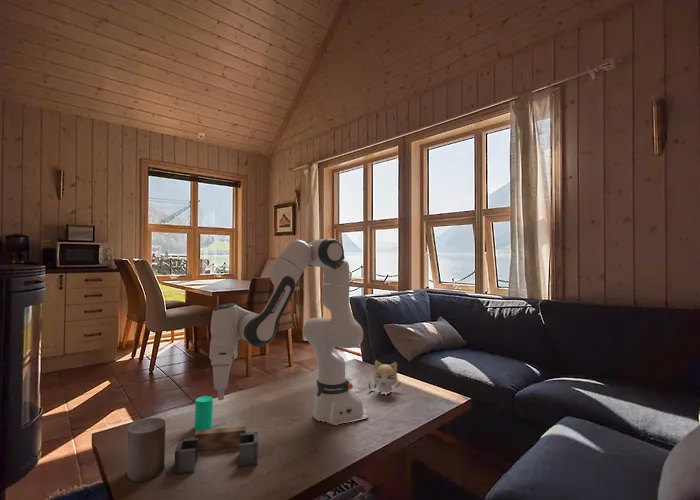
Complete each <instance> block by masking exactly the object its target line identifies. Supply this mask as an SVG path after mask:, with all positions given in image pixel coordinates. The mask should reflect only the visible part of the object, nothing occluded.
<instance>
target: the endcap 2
mask: <svg viewBox="0 0 700 500" xmlns="http://www.w3.org/2000/svg"><path fill="white" fill-rule="evenodd" d="M258 453H259V434H258V431H255V432H254V431H253V432H246V433H243V434H240V447H239V457H238V458H239V459H238V467H239V468H245V467H251V466H258V461H259V460H258V458H259V456H258V455H259V454H258Z"/></svg>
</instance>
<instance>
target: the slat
mask: <svg viewBox="0 0 700 500" xmlns="http://www.w3.org/2000/svg"><path fill="white" fill-rule="evenodd" d="M243 433H247V426H246V425H244V426H243V425H241V426H233V427H231V426H229V427H219V428H211V429H207V430H195V432H194V438H198V452H199V451H209V450H220V449H229V448H240V434H243Z"/></svg>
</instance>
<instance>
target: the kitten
mask: <svg viewBox="0 0 700 500" xmlns="http://www.w3.org/2000/svg"><path fill="white" fill-rule="evenodd" d="M397 373H398V362H396V361H395V362H392V363H391V364H385V363H381V362H380V361H378V360H377V359H376V360H375V361H374V374H373V380H374V383H375V384H374V386H373V387H374V388H377V387H378V388H377V391H378V390H379V391H380V392H389V391H391V390H392V388H396V389H397V388H399V387H400V386H401V385H402V384H401V381H399V380H398V375H397ZM377 385H378V386H377ZM368 388H369V390H370V389H372V386H371V382H369V383H368ZM379 391H378V392H379ZM392 391H393V390H392Z"/></svg>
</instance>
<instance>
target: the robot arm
mask: <svg viewBox="0 0 700 500" xmlns="http://www.w3.org/2000/svg"><path fill="white" fill-rule="evenodd" d="M308 266H309V267H318V268H319V267H320V268H321V269H322V271H323V279H322V289H321V290H322V293H321V304H322V305H323V306H324V307H325V308H326V309H327V310H328V311H329V312H330V314H331V317H330V318H329V317H322V316H321V317H319V316H317V317H313V318H312V317H311V318H309V319H307V321H306V322H305V324H304V326H303V335H304V339H305V340H306V341H308V343H309V344H310V345H311V347H312V349H313V350H314V354H315V356H316V360H317V379H316V386H315V387H316V388H315V393H316V398H315V406H314V408H313V409H314V410H313V413H312V417H313V419H315V420H316V421H318V422H320V421H322V422H321V423H324V422H327V423H326V424H329V423H330V424H329V425H331V424H334V425H336V424H341V423H345V422H349V421H353V420H356V419H361V418H366V417H367V416H366V415H364V413H367V412H366V411H368V410H367V408H366V407H365V408H363V407H364V405H363V401H362V399H361V397H360V396H359V395H358V394H357V393H356V392H355V391H353V387H354V385H353V383H351V382H350V381H349V380H348V379H347V378H346V361H345V359H344V358H343V356H341V354H339V353H338V352H337V350H336V348H340V349H354V348H355V349H356V348H358V347H359V346H360V345H361V344H362V342H363V339H364V330H363V327H362V326H361V324H360V323H359V322H358V321H357V320H356V318H355V317H354V316H353V312H352V310H351V307H350V285H351V275H350V274H351V273H350V272H351V271H350V265H349V262H348V261H347V260H346V259H345V250H344V246H343V245H342V243H341V242H340V241H339V240H337V239H335V238H332V237H331V238H319V239H315V240H310V241H307V242H306V241H304V240H301V239H294V240H292V241H290V243H288V244H287V246H285V248H283V250H282V251H281V253H279V255H278V256H277V258H276V259H275V260H274V262H273V264H272V265H271V268H270V270H269V278H270V281H271V283H272V285H273V291H272V294H271V295H270V298H269V300H268V301H267V303H266V305H265V307H264V309H263V310H262V311H261V312H260V313H256V312H254V311H250V310H246V309H244V308H242V307H240V306H239V305H237V304H236V303H233V302H231V303H223V304H219V305H217V306H216V307H214V308H213V311H212V314H211V320H210V329H209V331H210V334H211V336H210V337H211V338H210V341H209V357H208V358H209V359H210V365H211V366H212V377H213V379H212V380H213V388H214V390H215V391H217V401H223V400H224V398H225V390H227V388H228V384H229V378H230V377H229V376H230V370H231V366H232V364H233V363H234V361H235V359H237V357H238V346H239V345H238V344H239V343H238V341H239V340H244V341H246V342H247V343H249V344H250V345H251V346H253V347H256V348H262V347H265V346H267V345H269V344H271V342H272V341H273V340H274V338H275V336H276V333H277V329H278V326H279V322H280V320H281V318H282V316H283V314H284V311H285V310H286V308H287V306H288V304H289V303H290V300H291V298H292V296H293V294H294V292H295V290H296V284H298V283H297V282H298V281H299V279H300V277H301V275H302V274H303V273H304V272H305V269H306V268H307V267H308Z"/></svg>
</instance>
